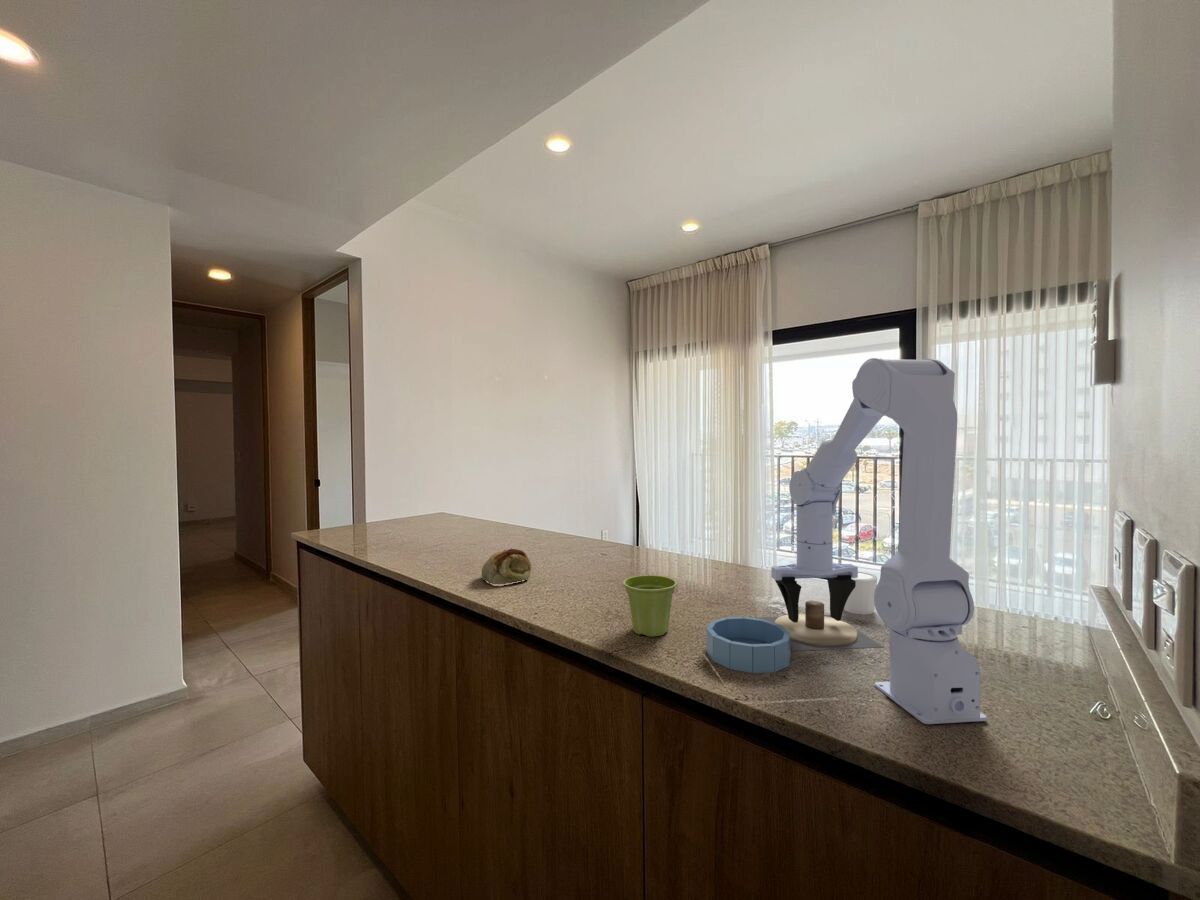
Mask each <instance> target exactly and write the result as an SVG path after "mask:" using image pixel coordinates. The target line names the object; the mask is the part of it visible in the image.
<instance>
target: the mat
mask: <svg viewBox="0 0 1200 900" xmlns="http://www.w3.org/2000/svg"><path fill="white" fill-rule="evenodd" d="M824 616H826V617H830V618H832V617H831V615H830V614H824ZM779 617H780V616H766V617H756V618H757V619H763V620H767V621H770V622H773V623H775V620H776V619H777V618H779ZM841 621H843V620H842V619H841ZM856 631H857V639H856V641H855V642H853V643H851V644H848V645H843V646H818V645H811V644H806V643H801V642H798V641H795V640H792V639H790V651H792V652H807V651H808V652H809V651H810V652H811V651H831V650H832V651H833V650H851V649H852V650H853V649H854V650H855V649H856V650H857V649H877V648H885V646H883V645H882V644H880V643H879V642H877V641H875V640H874V639H873V638H871V637H870V636H868V635H866V634H865V633H863V632H861V631H859V630H858V629H856Z"/></svg>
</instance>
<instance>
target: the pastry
mask: <svg viewBox="0 0 1200 900" xmlns="http://www.w3.org/2000/svg"><path fill="white" fill-rule="evenodd" d="M531 570H532V563H531V561H530V559H529V557H528V555H527V554H526V552H524V551H523V550H521V549H517V548H510V549H504V550H501V551H497V552H495V553H493V554H492V555H491V556H489V558H488V559H487V560H486V561H485V562H484V564H483V565H482V568H481V577H482V581H483V580H486V581H488V582H489V583H492V584H506V583H512V582H517V581H522V580H526V579H528V578H529V579H530V576H531ZM529 579H528V580H529Z"/></svg>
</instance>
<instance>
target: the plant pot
mask: <svg viewBox="0 0 1200 900" xmlns="http://www.w3.org/2000/svg"><path fill="white" fill-rule="evenodd" d="M622 583H623V587H625V591H626V593H627V596H628V601H629V609H630V615H631V616H630V617H631V623H632V629H633V630H632V631H633V632H634V633H636V634H637V635H638V636H639V635H645V636H646V637H652V638H653V637H658V636H659V637H660V636H663V635H665V634H666V633H668V632H669V629H670V628H669V627H670V616H671V610H672V609H671V608H672V601H673V595H674V593H675V589H676V587H677V585H678V582H677V580H675V578H674V579H673V577H668V576H664V575H656V574H654V575H653V574H652V575H651V574H648V575H647V574H645V575H644V574H643V575H635V576H630V577H627V578H625V579H624V580H623V582H622Z"/></svg>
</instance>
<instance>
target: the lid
mask: <svg viewBox="0 0 1200 900" xmlns="http://www.w3.org/2000/svg"><path fill="white" fill-rule="evenodd" d="M804 603H805V605H804V606H805V607H804V610H805V612H804V613H799V617H798V622H795V623H794V622H792V621H791V620H790V619H789V617H788V614H785V615H781V616H778V617H779V618H777V619H776V620H775V623H776V624H779V625H781V626H782V627H784V628H785V629H786V630H787V631H789V632H790V639H792V640H795V641H798V642H801V643H806V644H811V645H818V646H843V645H848V644H851V643H853V642H855V641H856V639H857V631H856V630H857V629H856V628H855V627H854V626H852V624H849V623H847V622H845V621H843V620H842V621H837V620H835V619H834V618H830V617H826V616H824V615H825V603H823V602H821V601H816V600H806V601H805V602H804Z"/></svg>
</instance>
